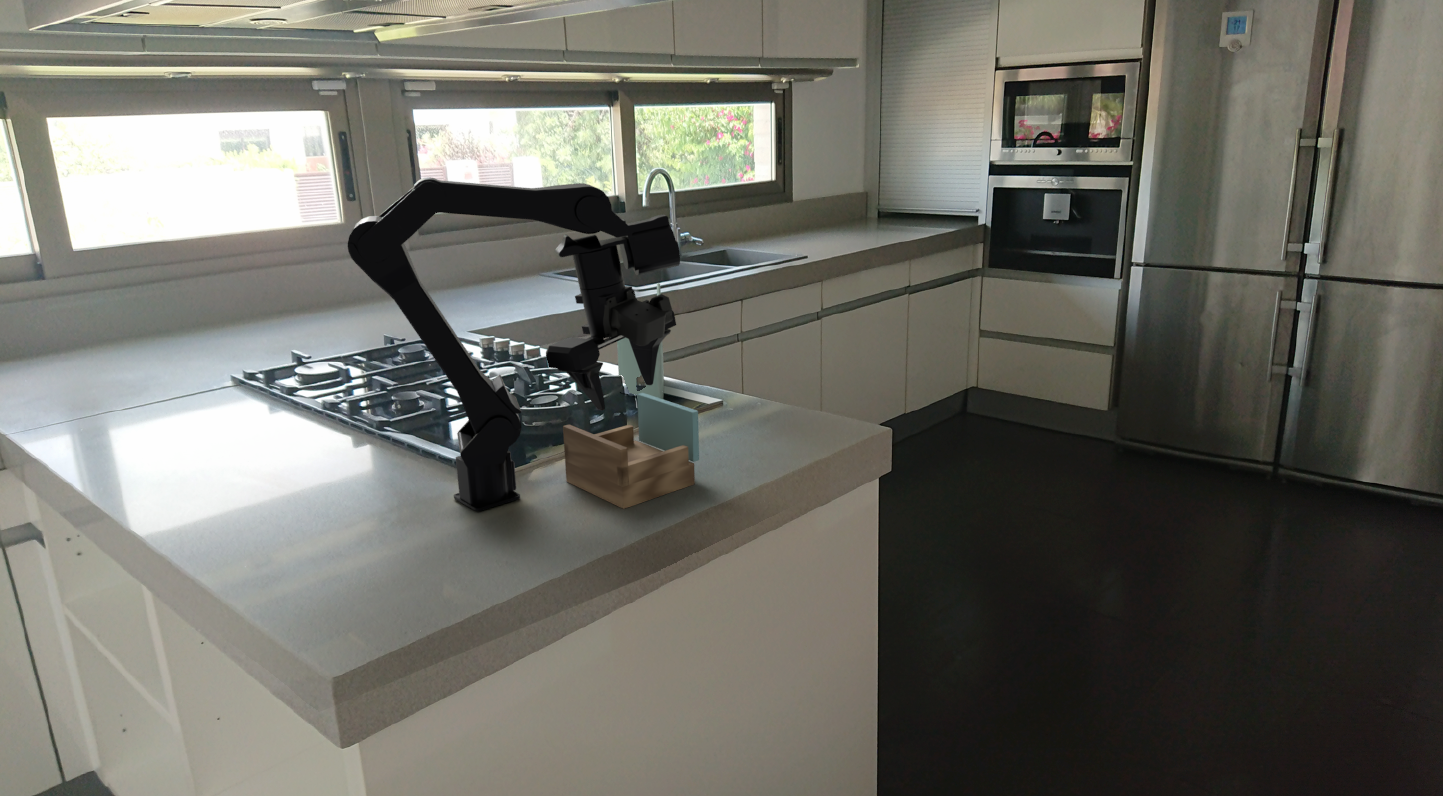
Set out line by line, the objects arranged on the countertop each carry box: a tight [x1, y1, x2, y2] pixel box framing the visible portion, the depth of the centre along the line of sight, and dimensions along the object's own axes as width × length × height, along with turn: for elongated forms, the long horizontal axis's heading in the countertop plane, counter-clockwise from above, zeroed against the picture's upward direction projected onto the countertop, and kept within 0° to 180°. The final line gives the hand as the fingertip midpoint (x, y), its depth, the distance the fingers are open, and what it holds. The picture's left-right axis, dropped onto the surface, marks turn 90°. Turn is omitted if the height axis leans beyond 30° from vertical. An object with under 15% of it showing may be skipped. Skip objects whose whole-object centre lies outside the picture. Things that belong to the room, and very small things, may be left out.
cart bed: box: [562, 424, 696, 510], centre depth 128 cm, size 12×13×8 cm
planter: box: [616, 282, 665, 400], centre depth 168 cm, size 16×8×20 cm, turn 3°
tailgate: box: [636, 393, 700, 463], centre depth 132 cm, size 2×12×7 cm, turn 42°
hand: (626, 397), depth 127 cm, fingers open, 9 cm apart
